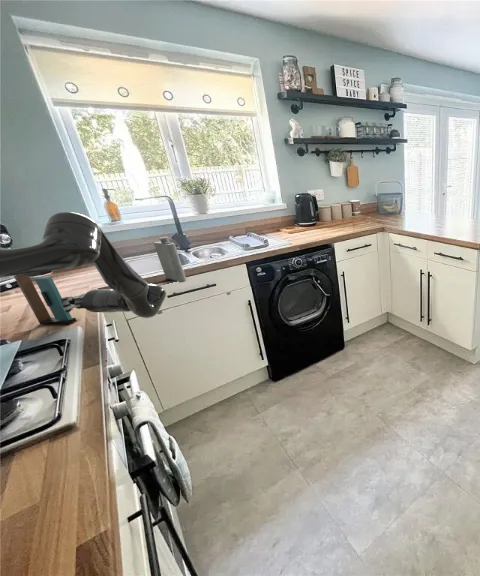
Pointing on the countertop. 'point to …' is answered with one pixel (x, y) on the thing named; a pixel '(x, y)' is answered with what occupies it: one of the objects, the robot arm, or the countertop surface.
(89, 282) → the countertop surface
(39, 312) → the door frame
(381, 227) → the countertop surface
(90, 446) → the countertop surface
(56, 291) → the door
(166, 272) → the hip flask
